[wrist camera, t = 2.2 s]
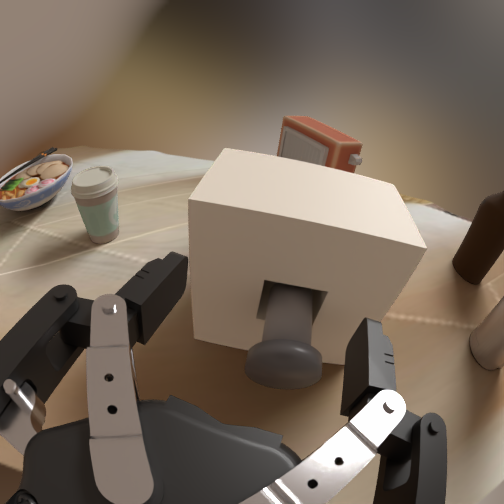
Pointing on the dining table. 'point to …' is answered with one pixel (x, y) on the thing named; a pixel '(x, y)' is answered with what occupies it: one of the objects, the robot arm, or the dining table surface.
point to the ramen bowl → (35, 181)
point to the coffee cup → (98, 202)
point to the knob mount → (295, 248)
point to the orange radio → (318, 144)
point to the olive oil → (482, 240)
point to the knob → (286, 342)
